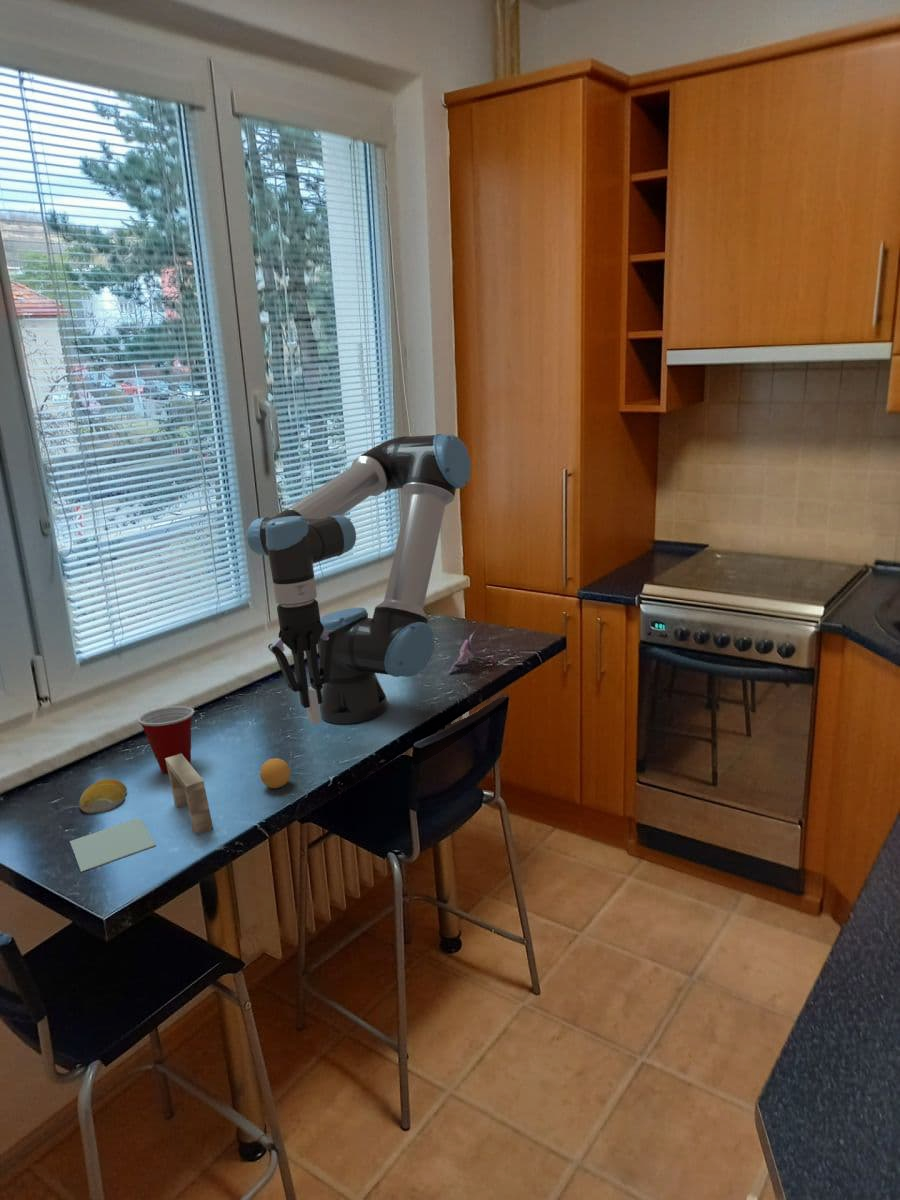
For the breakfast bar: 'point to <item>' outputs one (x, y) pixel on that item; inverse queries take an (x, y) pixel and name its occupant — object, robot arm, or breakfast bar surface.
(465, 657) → the lily
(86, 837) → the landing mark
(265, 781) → the ball
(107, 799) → the yellow bowl
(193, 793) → the bridge
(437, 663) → the breakfast bar surface
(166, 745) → the plastic cup
